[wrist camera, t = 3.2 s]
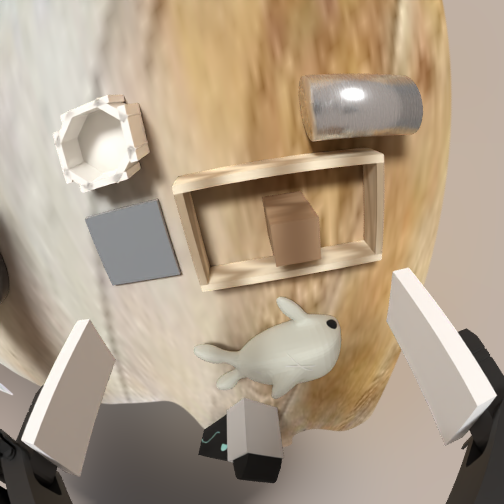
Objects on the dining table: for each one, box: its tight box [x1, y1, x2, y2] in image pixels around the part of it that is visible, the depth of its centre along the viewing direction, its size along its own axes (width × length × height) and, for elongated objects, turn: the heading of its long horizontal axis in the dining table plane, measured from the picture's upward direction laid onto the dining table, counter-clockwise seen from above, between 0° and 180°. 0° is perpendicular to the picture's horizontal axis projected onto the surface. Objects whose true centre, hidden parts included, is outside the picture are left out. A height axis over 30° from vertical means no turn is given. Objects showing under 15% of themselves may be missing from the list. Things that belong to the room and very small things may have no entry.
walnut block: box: [262, 191, 321, 267], centre depth 28 cm, size 4×4×7 cm
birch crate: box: [172, 148, 384, 292], centre depth 29 cm, size 20×12×4 cm, turn 99°
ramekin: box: [53, 95, 150, 193], centre depth 24 cm, size 8×8×4 cm
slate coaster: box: [85, 199, 181, 285], centre depth 31 cm, size 9×9×1 cm
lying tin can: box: [299, 74, 423, 141], centre depth 23 cm, size 10×6×6 cm, turn 99°
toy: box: [194, 297, 341, 399], centre depth 36 cm, size 17×19×10 cm
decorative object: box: [199, 398, 284, 483], centre depth 45 cm, size 8×18×15 cm, turn 144°
